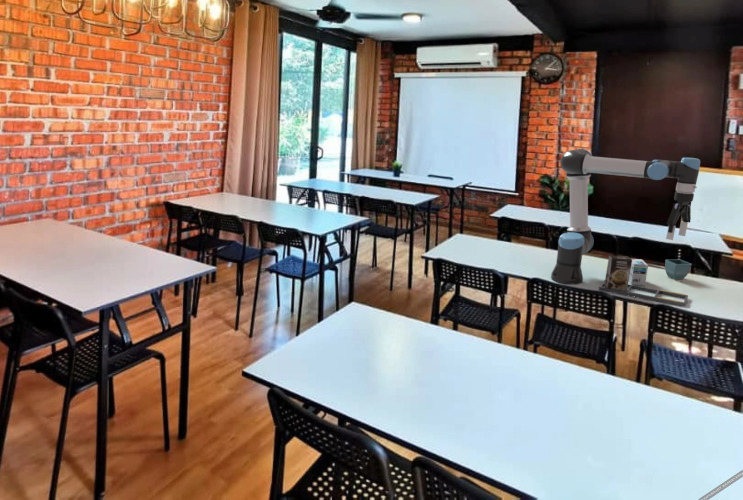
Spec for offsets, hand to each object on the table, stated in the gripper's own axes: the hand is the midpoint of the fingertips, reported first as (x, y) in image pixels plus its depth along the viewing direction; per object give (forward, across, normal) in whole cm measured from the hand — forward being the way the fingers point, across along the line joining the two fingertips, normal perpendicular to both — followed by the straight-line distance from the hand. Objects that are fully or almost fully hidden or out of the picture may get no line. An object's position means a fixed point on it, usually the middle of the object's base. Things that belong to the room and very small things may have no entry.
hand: (675, 237), depth 247 cm
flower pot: (+27, +28, +6) cm, 39 cm away
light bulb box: (+28, +4, +16) cm, 32 cm away
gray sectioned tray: (+27, -13, +5) cm, 30 cm away
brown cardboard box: (+28, -16, +16) cm, 36 cm away
